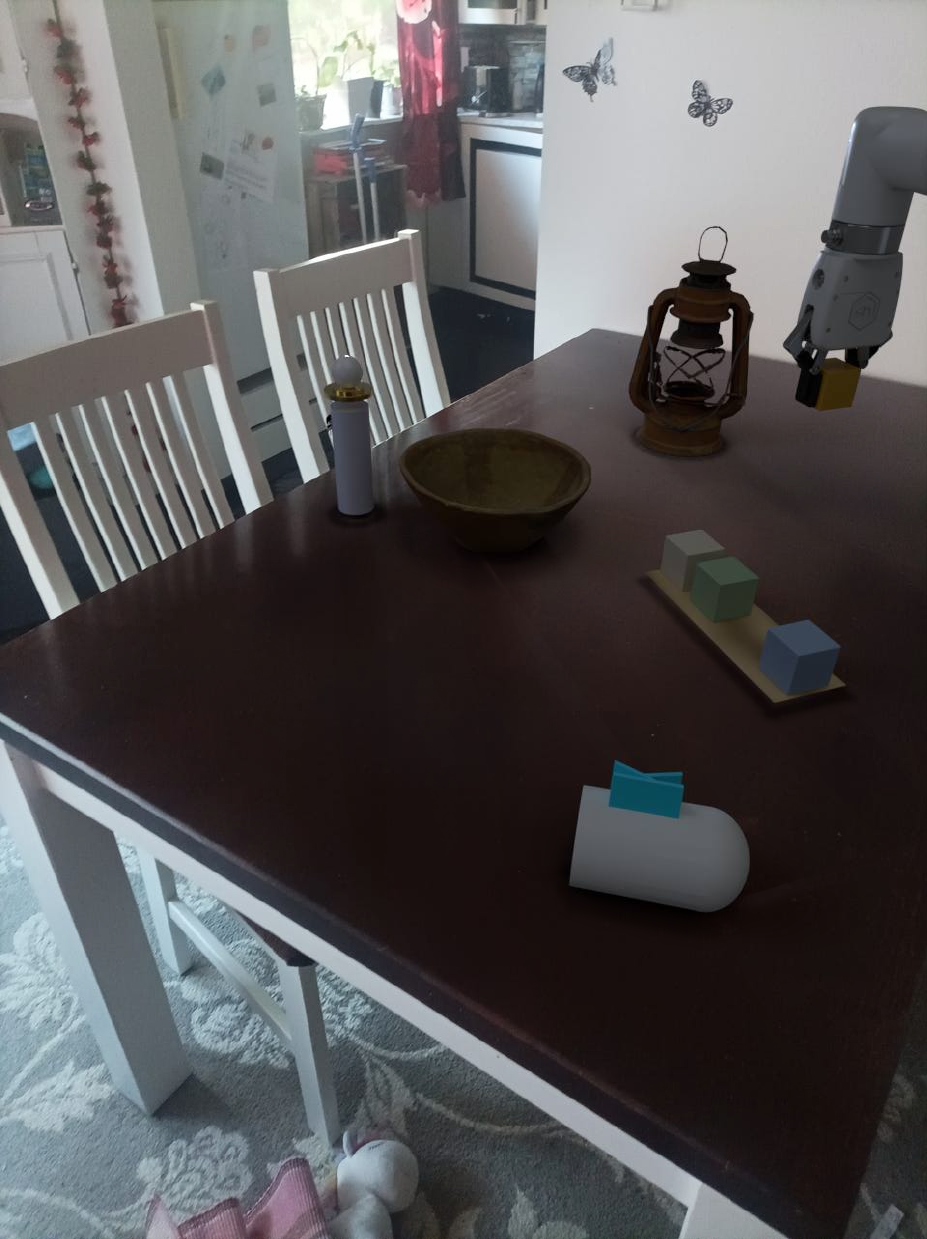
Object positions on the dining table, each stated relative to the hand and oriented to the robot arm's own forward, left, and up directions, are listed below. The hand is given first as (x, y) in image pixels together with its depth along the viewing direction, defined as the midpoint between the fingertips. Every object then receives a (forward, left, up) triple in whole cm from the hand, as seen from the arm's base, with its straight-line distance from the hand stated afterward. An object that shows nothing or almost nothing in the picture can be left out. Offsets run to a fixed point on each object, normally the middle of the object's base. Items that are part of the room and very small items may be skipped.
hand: (823, 399), depth 104 cm
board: (+23, +21, -15) cm, 35 cm away
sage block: (+23, +18, -14) cm, 33 cm away
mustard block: (0, 0, 0) cm, 0 cm away
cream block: (+23, +12, -14) cm, 29 cm away
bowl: (+40, -5, -15) cm, 43 cm away
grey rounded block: (+46, +45, -15) cm, 66 cm away
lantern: (+2, -25, -15) cm, 29 cm away
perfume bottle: (+54, -17, -15) cm, 59 cm away
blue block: (+23, +30, -14) cm, 41 cm away
